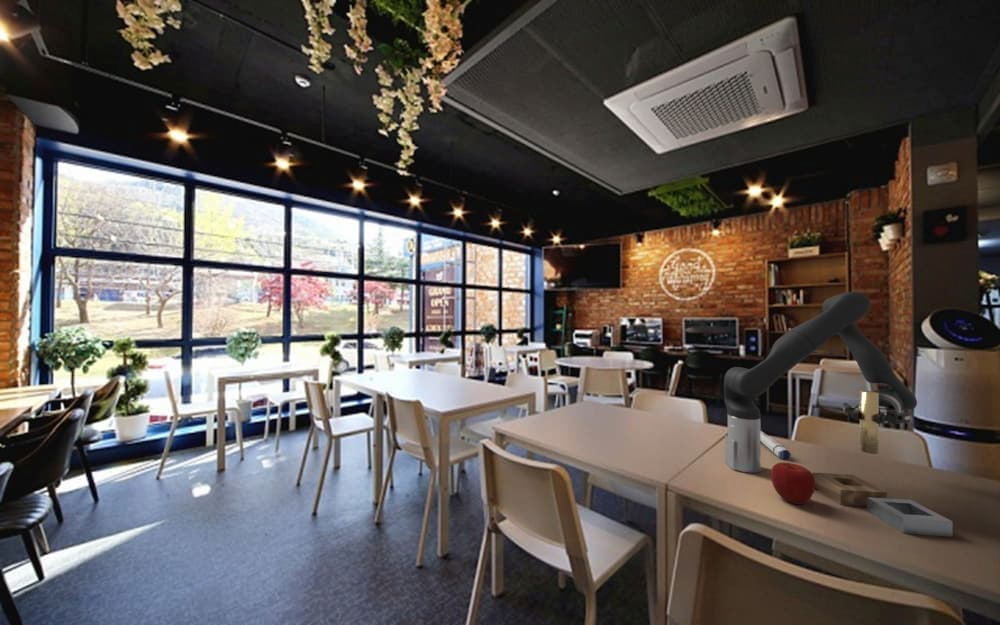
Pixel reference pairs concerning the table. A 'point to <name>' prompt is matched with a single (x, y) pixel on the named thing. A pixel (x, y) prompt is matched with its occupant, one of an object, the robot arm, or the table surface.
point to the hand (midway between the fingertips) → (867, 418)
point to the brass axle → (869, 422)
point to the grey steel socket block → (909, 517)
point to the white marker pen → (775, 447)
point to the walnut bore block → (847, 488)
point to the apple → (793, 482)
